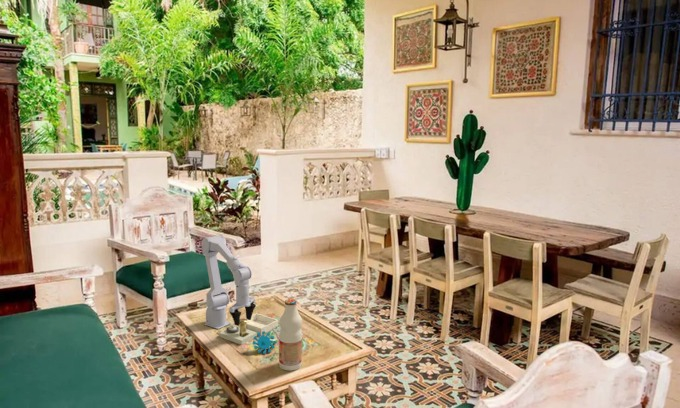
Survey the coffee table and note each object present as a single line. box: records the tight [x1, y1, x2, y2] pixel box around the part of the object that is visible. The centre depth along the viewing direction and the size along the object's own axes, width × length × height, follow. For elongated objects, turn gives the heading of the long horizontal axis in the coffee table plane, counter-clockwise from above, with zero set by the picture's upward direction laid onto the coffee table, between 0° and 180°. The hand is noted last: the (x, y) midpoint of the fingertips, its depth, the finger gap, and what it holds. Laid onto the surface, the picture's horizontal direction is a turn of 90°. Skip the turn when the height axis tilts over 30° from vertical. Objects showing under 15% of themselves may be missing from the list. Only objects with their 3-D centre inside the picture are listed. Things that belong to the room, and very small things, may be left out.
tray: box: [239, 313, 279, 337], centre depth 227 cm, size 14×12×4 cm
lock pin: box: [239, 318, 247, 337], centre depth 214 cm, size 4×4×9 cm
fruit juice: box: [278, 298, 303, 371], centre depth 190 cm, size 9×9×28 cm
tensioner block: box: [218, 324, 258, 346], centre depth 216 cm, size 14×10×4 cm
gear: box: [252, 331, 279, 355], centre depth 205 cm, size 11×6×10 cm
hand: (242, 322), depth 214 cm, fingers open, 7 cm apart
